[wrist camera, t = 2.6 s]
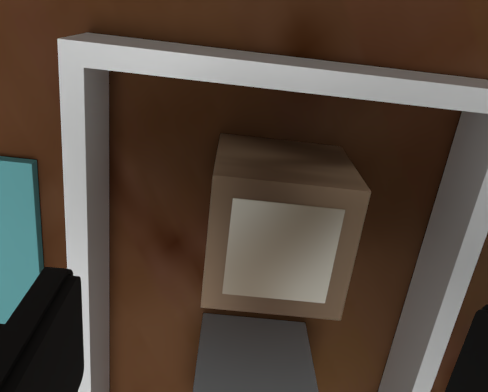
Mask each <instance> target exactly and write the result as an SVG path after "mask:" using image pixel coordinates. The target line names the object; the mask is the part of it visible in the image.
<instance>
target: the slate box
mask: <svg viewBox="0 0 488 392" xmlns="http://www.w3.org/2000/svg"><path fill="white" fill-rule="evenodd" d="M193 392H318V387H317V382H316V376H315V371H314V366H313V361H312V355H311V350H310V345H309V339H308V334H307V329H306V324H305V322H295V321H284V320H273V319H262V318H252V317H241V316H230V315H220V314H209V313H203V318H202V326H201V334H200V341H199V349H198V356H197V364H196V371H195V379H194V387H193Z"/></svg>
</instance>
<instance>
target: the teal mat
mask: <svg viewBox="0 0 488 392" xmlns="http://www.w3.org/2000/svg"><path fill="white" fill-rule="evenodd" d="M43 269H44V263H43V247H42V232H41V217H40V202H39V187H38V172H37V160H32V159H23V158H13V157H4V156H0V324H6V322H7V321H8V319H9V318H10V316H11V315H12V313H13V312H14V310H15V309H16V308H17V306H18V305H19V303H20V302H21V300H22V299H23V297H24V296H25V294H26V293H27V292H28V290H29V289H30V287H31V286H32V284H33V283H34V281H35V280H36V278H37V277H38V276H39V274H40V273H41V271H42V270H43Z"/></svg>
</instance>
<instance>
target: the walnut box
mask: <svg viewBox="0 0 488 392" xmlns="http://www.w3.org/2000/svg"><path fill="white" fill-rule="evenodd" d="M370 195H371V191H370V189H369V188H368V186H367V185H366V183H365V182H364V180H363V179H362V177H361V176H360V174H359V173H358V171H357V170H356V168H355V167H354V165H353V164H352V162H351V161H350V159H349V157H348V156H347V154H346V153H345V151H344V150H343V148H342V147H341V146H334V145H325V144H316V143H307V142H298V141H289V140H280V139H271V138H262V137H252V136H243V135H234V134H225V133H220V138H219V143H218V149H217V154H216V160H215V165H214V171H213V177H212V188H211V199H210V210H209V221H208V232H207V243H206V253H205V264H204V275H203V286H202V297H201V308H210V309H221V310H232V311H242V312H253V313H264V314H275V315H285V316H296V317H307V318H318V319H328V320H339V321H341V317H342V312H343V308H344V304H345V300H346V296H347V291H348V287H349V283H350V279H351V275H352V270H353V266H354V262H355V258H356V254H357V249H358V245H359V241H360V237H361V233H362V228H363V224H364V220H365V216H366V212H367V208H368V203H369V199H370Z"/></svg>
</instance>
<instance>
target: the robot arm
mask: <svg viewBox="0 0 488 392" xmlns="http://www.w3.org/2000/svg"><path fill="white" fill-rule="evenodd" d="M83 373H84V346H83V319H82V291H81V278H80V277H79V276H73V271H72V270H71V269H64V268H52V267H45V268H44V269H43V270H42V271H41V273H40V274H39V276H38V277H37V278H36V280H35V281H34V283H33V284H32V286H31V287H30V289H29V290H28V292H27V293H26V294H25V296H24V297H23V299H22V300H21V302H20V303H19V305H18V306H17V308H16V309H15V310H14V312H13V313H12V315H11V316H10V318H9V319H8V321H7V322H6V324H0V392H78V390H79V387H80V384H81V382H82V378H83ZM445 392H488V304H487V305H485V306H484V307H483V308H482V310H478V311H477V312H476V314H475V316H474V319H473V321H472V324H471V326H470V329H469V331H468V334H467V336H466V339H465V342H464V344H463V347H462V349H461V352H460V354H459V357H458V359H457V362H456V365H455V367H454V370H453V372H452V375H451V377H450V380H449V382H448V385H447V388H446V390H445Z"/></svg>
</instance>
